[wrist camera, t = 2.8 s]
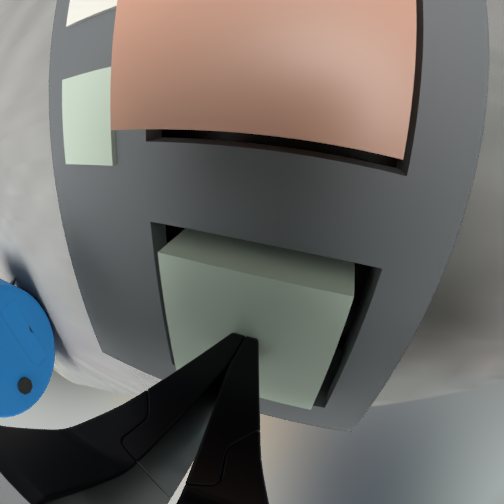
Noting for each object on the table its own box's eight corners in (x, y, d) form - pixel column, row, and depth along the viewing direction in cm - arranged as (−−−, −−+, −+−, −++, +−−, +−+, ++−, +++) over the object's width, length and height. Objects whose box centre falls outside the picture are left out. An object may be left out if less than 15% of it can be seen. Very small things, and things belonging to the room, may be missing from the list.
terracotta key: (387, -34, 4) (402, -99, 1) (378, 137, 7) (403, 159, 4) (203, -37, 5) (134, -79, 2) (191, 116, 8) (110, 130, 5)
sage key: (354, 236, 10) (353, 297, 7) (323, 345, 12) (310, 409, 9) (209, 209, 11) (157, 252, 8) (210, 317, 14) (176, 370, 11)
